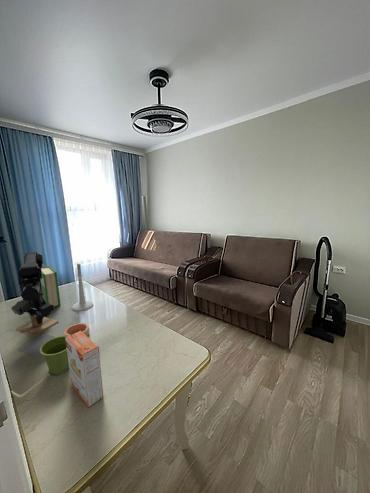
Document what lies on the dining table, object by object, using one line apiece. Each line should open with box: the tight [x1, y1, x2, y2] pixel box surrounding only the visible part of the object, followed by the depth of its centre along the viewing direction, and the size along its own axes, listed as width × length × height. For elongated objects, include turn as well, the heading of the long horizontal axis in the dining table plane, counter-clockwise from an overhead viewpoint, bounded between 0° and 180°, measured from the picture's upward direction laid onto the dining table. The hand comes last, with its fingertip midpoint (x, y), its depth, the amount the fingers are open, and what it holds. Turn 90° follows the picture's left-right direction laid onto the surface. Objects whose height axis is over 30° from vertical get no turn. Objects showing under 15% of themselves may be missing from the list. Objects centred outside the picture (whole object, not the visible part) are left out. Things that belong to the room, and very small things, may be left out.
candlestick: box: [71, 263, 94, 312], centre depth 136 cm, size 13×13×30 cm
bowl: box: [63, 322, 90, 337], centre depth 107 cm, size 11×11×4 cm
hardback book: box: [41, 265, 61, 307], centre depth 141 cm, size 18×7×24 cm, turn 45°
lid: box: [15, 315, 59, 338], centre depth 99 cm, size 12×12×6 cm
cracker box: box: [65, 331, 104, 409], centre depth 74 cm, size 14×6×21 cm, turn 49°
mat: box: [17, 333, 56, 357], centre depth 101 cm, size 13×13×1 cm
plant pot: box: [40, 335, 69, 376], centre depth 86 cm, size 12×12×11 cm
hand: (37, 322), depth 99 cm, fingers closed on lid, 3 cm apart
